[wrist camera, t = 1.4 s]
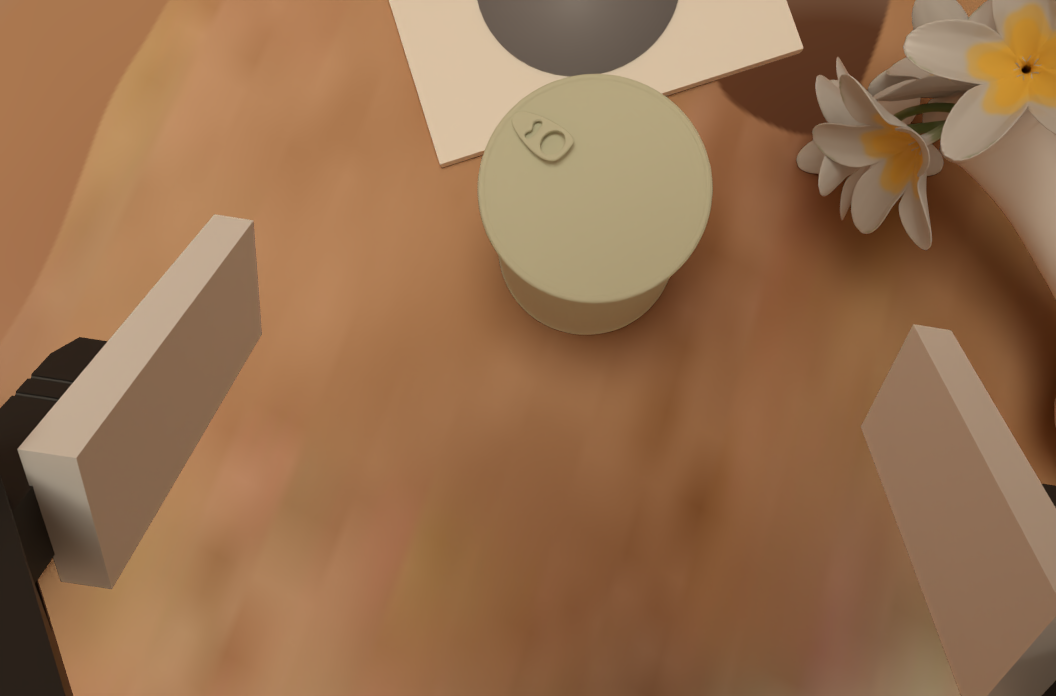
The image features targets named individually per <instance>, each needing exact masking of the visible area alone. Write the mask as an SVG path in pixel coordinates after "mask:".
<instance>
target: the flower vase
mask: <svg viewBox="0 0 1056 696" xmlns="http://www.w3.org/2000/svg"><path fill="white" fill-rule="evenodd" d="M912 24H913V31H911V32H910V34H909V35H907V36H906V40H905V43H904V46H903V49H904V53H905V55H906V56H907V57H906V58H904V59H902V60H900V61H898V62H897V63H895V64H893V66H892V67H890V68H889V69H887V70H886V71H884V72H883V73H881V74H879V75H878V76H877V77H876V78H875V79H874V80H873V81H872V82H871V83H870V85H869V87H868V91H867V90H866V89H865V88H864V87H863V86H862V85H861V84H860V83H859V82H858V81H857V80H856V79H855V78H854V77H852V76H850V75H849V74H848V72H847V70H846V68H845V67H844V65H843V64H842V62H841V60H840V58H839V57H837V60H836V61H837V62H836V69H837V76H838V80H828V79H827V78H826V77H824V76H821V75H818V76H817V77H816V84H815V87H816V89H815V90H816V96H817V98H818V103H819V105H820V109H821V111H822V113H823V116H824V117H825V119H826V120H827V122H828V123H823V124H819V125H816V126H815V127H814V128H813V131H812V135H813V140H812V141H811V142H809V143H808V144H807V145H805V146H804V147H803V148H802V149H801V150H800V152H799V154H798V155H797V159H796V161H797V164H798V167H799V168H800V169H801V170H803V171H805V172H809V173H816V174H819V179H818V187H819V191H820V194H821V195H822V196H827V195H828V194H830V193H831V192H832V191H833V190H834V189H835V188H836V187H837V186H838V185H839V184H840V183H841V182H842V181H843V180H844V179H845V178H846V177H847V176H849V175H850V176H849V177H848V178H847V179H846V181H845V183H844V186H843V189H842V193H841V199H840V217H841V220H843V219H844V217H845V215H846V213H847V211H848V209H849V206H850V204H851V213H852V218H853V223H854V224H855V227H856V228H857V229H858V230H859V231H860V232H861V233H864V234H869V233H872V232H874V231H875V230H876V229H877V228H878V227H879V226H880V225H881V224H882V222H883V221H884V220H885V218H886V216H887V215H888V213H889V212H890V210H891V208H892V207H893V206H894V204H895V203H896V202H897V200H898V199H899V198H900V197H901V196H902V195H903V196H902V199H901V201H900V203H899V215H900V218H901V221H902V224H903V226H904V228H905V230H906V232H907V234H908V235H909V237H910V238H911V239H912V240H913V242H914V243H915V244H916V245H917V246H918V247H919V248H922V249H923V250H928V249H929V248H930V247H931V243H932V231H931V224H930V217H929V210H928V202H927V195H926V178H927V176H931V175H935V174H937V173H939V172H940V171H941V170H942V167H943V164H944V162H943V158H942V156H943V157H944V158H945V159H946V160H947V161H949V162H952V163H956V164H957V165H959V166H960V167H961V168H963V169H964V170H965V171H966V172H967V173H968V174H969V175H970V176H971V177H972V178H973V179H974V180H975V181H976V182H977V183H978V184H979V185H980V186H981V187H982V189H983V190H984V191H985V192H986V193H987V194H988V195H989V196H990V197H991V198H992V200H993V201H994V202H995V203H996V204H997V206H998V207H999V208H1000V210H1001V211H1002V212H1003V213H1004V215H1005V216H1006V218H1007V219H1008V220H1009V222H1010V223H1011V225H1012V226H1013V228H1014V230H1015V231H1016V233H1017V234H1018V236H1019V238H1020V239H1021V241H1022V243H1023V244H1024V246H1025V248H1026V249H1027V251H1028V253H1029V255H1030V256H1031V258H1032V260H1033V261H1034V263H1035V265H1036V267H1037V268H1038V270H1039V272H1040V273H1041V275H1042V277H1043V279H1044V280H1045V282H1046V284H1047V286H1048V288H1049V289H1050V291H1051V293H1052V295H1053V297H1054V299H1055V301H1056V0H987V1H986V2H984V3H983V4H982V5H981V6H980V7H979V8H978V9H977V10H976V11H974V12H973V14H972V15H971V16H970V17H969V18H968V16H967V14H966V12H965V11H964V10H963V8H962V6H961V5H960V4H959V3H958V2H957V1H956V0H916V1H915V3H914V6H913V10H912ZM921 98H934V99H931V100H930V101H929V102H928V103H927V104H921V105H920V101H921ZM922 113H923V120H922V122H923V123H917V124H910V123H911V122H912V121H913V119H914V117H915V116H916V115H918V114H922ZM923 133H925V134H923ZM919 134H923V135H921V136H920V135H919ZM940 138H941V141H940V152H939V151H938V149H937V148H935V146H934V145H932V143H934V142H936V141H937V140H939V139H940ZM904 192H905V193H904ZM1054 418H1055V427H1056V397H1055V402H1054Z"/></svg>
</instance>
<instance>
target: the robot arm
mask: <svg viewBox="0 0 1056 696" xmlns="http://www.w3.org/2000/svg"><path fill="white" fill-rule="evenodd" d="M261 335H262V329H261V315H260V302H259V288H258V275H257V261H256V248H255V234H254V221H253V220H247V219H241V218H234V217H228V216H222V215H215V214H214V215H213V217H212V218H211V219H210V220H209V221H208V223H207V224H206V225H205V226H204V227H203V229H202V230H201V231H200V232H199V233H198V234H197V236H196V237H195V238H194V239H193V240H192V242H191V243H190V244H189V245H188V246H187V248H186V249H185V250H184V251H183V252H182V254H181V255H180V256H179V257H178V258H177V260H176V261H175V262H174V263H173V264H172V265H171V267H170V268H169V269H168V270H167V271H166V273H165V274H164V275H163V276H162V277H161V279H160V280H159V281H158V282H157V283H156V285H155V286H154V287H153V288H152V289H151V290H150V292H149V293H148V294H147V295H146V296H145V298H144V299H143V300H142V301H141V302H140V304H139V305H138V306H137V307H136V308H135V310H134V311H133V312H132V313H131V314H130V315H129V317H128V318H127V319H126V320H125V321H124V323H123V324H122V325H121V326H120V327H119V329H118V330H117V331H116V332H115V333H114V335H113V336H112V337H111V338H110V339H109V340H108V342H107V341H101V340H94V339H88V338H82V337H79V338H77V339H76V340H74V341H72V342H70V343H68V344H67V345H65V346H63V347H61V348H60V349H58V350H56V351H54V352H53V353H51V354H50V355H49V356H48V357H47V358H46V359H45V360H44V361H43V362H42V363H41V365H40V366H39V367H38V368H37V369H36V370H35V371H34V372H33V373H32V374H31V379H27V380H26V381H25V382H24V383H23V384H22V385H21V386H20V387H19V389H18V390H17V391H16V395H15V396H11V397H10V398H9V399H8V401H7V402H6V403H5V404H4V405H3V406H2V407H1V408H0V696H73V693H72V690H71V687H70V684H69V680H68V677H67V674H66V670H65V667H64V664H63V661H62V657H61V654H60V651H59V647H58V644H57V641H56V638H55V634H54V631H53V628H52V624H51V621H50V618H49V615H48V611H47V608H46V605H45V601H44V598H43V595H42V592H41V589H40V586H39V583H38V578H39V577H40V575H41V574H42V572H43V571H44V570H45V568H46V567H47V565H48V564H49V562H50V561H51V559H52V558H53V559H54V562H55V565H56V568H57V571H58V574H59V577H60V580H61V582H67V583H74V584H81V585H88V586H94V587H101V588H108V589H112V588H113V586H114V585H115V583H116V581H117V580H118V578H119V576H120V575H121V573H122V571H123V569H124V568H125V566H126V564H127V563H128V561H129V559H130V558H131V556H132V554H133V552H134V551H135V549H136V547H137V546H138V544H139V542H140V540H141V539H142V537H143V535H144V534H145V532H146V530H147V529H148V527H149V525H150V523H151V522H152V520H153V518H154V517H155V515H156V513H157V512H158V510H159V508H160V506H161V505H162V503H163V501H164V500H165V498H166V496H167V495H168V493H169V491H170V489H171V488H172V486H173V484H174V483H175V481H176V479H177V478H178V476H179V474H180V472H181V471H182V469H183V467H184V466H185V464H186V462H187V461H188V459H189V457H190V455H191V454H192V452H193V450H194V449H195V447H196V445H197V444H198V442H199V440H200V438H201V437H202V435H203V433H204V432H205V430H206V428H207V427H208V425H209V423H210V421H211V420H212V418H213V416H214V415H215V413H216V411H217V410H218V408H219V406H220V404H221V403H222V401H223V399H224V398H225V396H226V394H227V393H228V391H229V389H230V387H231V386H232V384H233V382H234V381H235V379H236V377H237V376H238V374H239V372H240V370H241V369H242V367H243V365H244V364H245V362H246V360H247V359H248V357H249V355H250V353H251V352H252V350H253V348H254V347H255V345H256V343H257V341H258V340H259V338H260V336H261ZM861 429H862V431H863V434H864V437H865V439H866V442H867V445H868V447H869V450H870V453H871V455H872V458H873V461H874V464H875V466H876V469H877V472H878V474H879V477H880V480H881V482H882V485H883V488H884V490H885V493H886V496H887V498H888V501H889V504H890V507H891V509H892V512H893V515H894V517H895V520H896V523H897V525H898V528H899V531H900V533H901V536H902V539H903V541H904V544H905V547H906V549H907V552H908V555H909V558H910V560H911V563H912V566H913V568H914V571H915V574H916V576H917V579H918V582H919V584H920V587H921V590H922V592H923V595H924V598H925V601H926V603H927V606H928V609H929V611H930V614H931V617H932V619H933V622H934V625H935V627H936V630H937V633H938V635H939V638H940V641H941V643H942V646H943V649H944V652H945V654H946V657H947V660H948V662H949V665H950V668H951V670H952V673H953V676H954V678H955V681H956V684H957V686H958V689H959V692H960V694H961V696H1056V486H1053V485H1047V484H1041V482H1040V481H1039V479H1038V477H1037V475H1036V474H1035V472H1034V470H1033V469H1032V467H1031V465H1030V464H1029V462H1028V460H1027V458H1026V457H1025V455H1024V453H1023V452H1022V450H1021V448H1020V447H1019V445H1018V443H1017V441H1016V440H1015V438H1014V436H1013V435H1012V433H1011V431H1010V430H1009V428H1008V426H1007V424H1006V423H1005V421H1004V419H1003V418H1002V416H1001V414H1000V413H999V411H998V409H997V407H996V406H995V404H994V402H993V401H992V399H991V397H990V396H989V394H988V392H987V390H986V389H985V387H984V385H983V384H982V382H981V380H980V379H979V377H978V375H977V373H976V372H975V370H974V368H973V367H972V365H971V363H970V362H969V360H968V358H967V356H966V355H965V353H964V351H963V350H962V348H961V346H960V345H959V343H958V341H957V339H956V338H955V336H954V334H953V333H952V331H951V330H947V329H940V328H934V327H928V326H921V325H915V324H913V325H912V327H911V329H910V331H909V333H908V335H907V337H906V339H905V341H904V343H903V345H902V347H901V349H900V351H899V353H898V355H897V357H896V359H895V361H894V363H893V365H892V367H891V369H890V371H889V372H888V374H887V376H886V378H885V380H884V382H883V384H882V386H881V388H880V390H879V392H878V394H877V396H876V398H875V400H874V402H873V404H872V406H871V408H870V410H869V412H868V414H867V416H866V418H865V420H864V422H863V423H862V425H861Z"/></svg>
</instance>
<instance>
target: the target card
mask: <svg viewBox="0 0 1056 696" xmlns="http://www.w3.org/2000/svg"><path fill="white" fill-rule="evenodd" d="M389 2H390V6H391V9H392V12H393V15H394V18H395V22H396V25H397V28H398V31H399V34H400V38H401V41H402V44H403V47H404V51H405V54H406V57H407V60H408V63H409V67H410V70H411V73H412V76H413V79H414V83H415V86H416V89H417V92H418V96H419V99H420V102H421V105H422V108H423V112H424V115H425V118H426V121H427V124H428V128H429V131H430V134H431V137H432V141H433V144H434V147H435V150H436V153H437V157H438V160H439V163H440V166H441V168H443V167H446V166H449V165H452V164H456V163H459V162H462V161H465V160H468V159H471V158H474V157H477V156H481V155H483V154H484V151H485V148H486V146H487V143H488V141H489V139H490V137H491V135H492V133H493V132H494V130H495V128H496V127H497V125H498V124H499V123H500V121H501V120H502V119H503V117H504V116H505V115H506V114H507V113H508V112H509V111H510V110H511V109H512V108H513V107H514V106H515V105H516V104H517V103H518V102H519V101H520V100H521V99H523V98H524V97H526V96H527V95H529V94H530V93H531V92H533V91H535V90H537V89H538V88H540V87H542V86H544V85H546V84H549V83H551V82H553V81H556V80H559V79H563V78H567V77H571V76H576V75H582V74H608V75H616V76H621V77H625V78H629V79H632V80H635V81H638V82H640V83H643V84H645V85H647V86H649V87H651V88H653V89H655V90H657V91H658V92H660V93H661V94H663V95H664V96H668V95H671V94H674V93H677V92H681V91H684V90H687V89H690V88H693V87H696V86H699V85H702V84H706V83H709V82H712V81H715V80H718V79H721V78H724V77H727V76H731V75H734V74H737V73H740V72H743V71H746V70H749V69H752V68H755V67H759V66H761V65H765V64H768V63H771V62H774V61H777V60H781V59H783V58H787V57H790V56H793V55H796V54H799V53H801V51H802V50H803V46H802V43H801V40H800V37H799V34H798V32H797V29H796V26H795V23H794V21H793V18H792V15H791V12H790V9H789V7H788V4H787V1H786V0H389Z"/></svg>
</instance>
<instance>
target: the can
mask: <svg viewBox="0 0 1056 696" xmlns="http://www.w3.org/2000/svg"><path fill="white" fill-rule="evenodd" d="M712 193H713V186H712V173H711V166H710V162H709V159H708V155H707V152H706V149H705V146H704V144H703V142H702V140H701V138H700V136H699V134H698V132H697V130H696V129H695V127H694V126H693V124H692V123H691V121H690V120H689V118H688V117H687V116H686V115H685V114H684V113H683V111H682V110H681V109H680V108H679V107H677V106H676V105H675V104H674V103H673V102H672V101H671V100H670V99H668V98H667V97H666V96H664V95H663V94H661V93H660V92H658V91H657V90H655V89H653V88H651V87H649V86H647V85H645V84H643V83H640V82H638V81H635V80H632V79H629V78H625V77H621V76H616V75H608V74H582V75H576V76H571V77H567V78H563V79H559V80H556V81H553V82H551V83H549V84H546V85H544V86H542V87H540V88H538V89H537V90H535V91H533V92H531V93H530V94H529V95H527V96H526V97H524V98H523V99H521V100H520V101H519V102H518V103H517V104H516V105H515V106H514V107H513V108H512V109H511V110H510V111H509V112H508V113H507V114H506V115H505V116H504V117H503V119H502V120H501V121H500V123H499V124H498V125H497V127H496V128H495V130H494V132H493V133H492V135H491V137H490V139H489V141H488V143H487V146H486V148H485V151H484V154H483V157H482V160H481V164H480V169H479V175H478V203H479V210H480V215H481V219H482V222H483V225H484V228H485V231H486V234H487V236H488V238H489V240H490V242H491V244H492V245H493V247H494V249H495V251H496V252H497V254H498V255H499V263H500V268H501V272H502V275H503V278H504V280H505V283H506V285H507V287H508V289H509V291H510V292H511V294H512V296H513V297H514V299H515V300H516V301H517V302H518V303H519V305H520V306H521V307H522V308H523V309H524V310H525V311H526V312H527V313H528V314H529V315H531V316H532V317H533V318H535V319H536V320H538V321H539V322H541V323H542V324H544V325H546V326H548V327H551V328H553V329H555V330H558V331H561V332H566V333H570V334H577V335H594V334H602V333H606V332H611V331H614V330H617V329H620V328H622V327H624V326H626V325H628V324H630V323H632V322H633V321H635V320H636V319H638V318H639V317H641V316H642V315H643V314H644V313H645V312H647V311H648V310H649V309H650V308H651V307H652V306H653V304H654V303H655V302H656V301H657V299H658V298H659V297H660V295H661V294H662V292H663V290H664V288H665V286H666V284H667V282H668V280H669V278H670V277H671V276H672V275H673V274H674V273H675V272H676V271H677V270H678V269H679V268H680V267H681V266H682V265H683V264H684V263H685V262H686V261H687V259H688V258H689V257H690V256H691V254H692V253H693V251H694V250H695V248H696V246H697V245H698V243H699V241H700V239H701V237H702V235H703V233H704V230H705V228H706V225H707V222H708V218H709V214H710V210H711V204H712Z"/></svg>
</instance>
